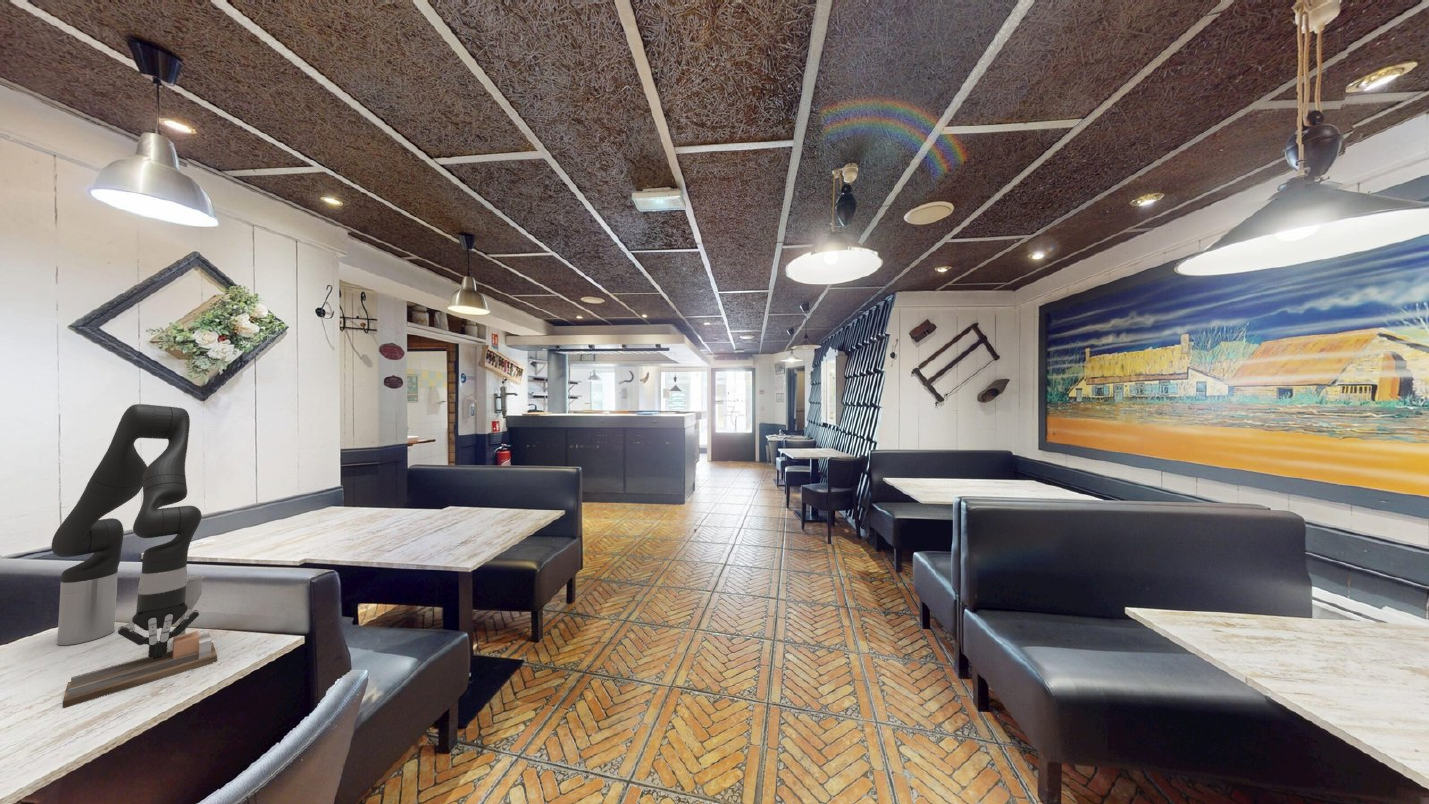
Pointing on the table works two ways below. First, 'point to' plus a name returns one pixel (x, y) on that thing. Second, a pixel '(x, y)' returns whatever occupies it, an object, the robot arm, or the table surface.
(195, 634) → the orange-brown block
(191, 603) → the chalice
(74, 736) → the table surface
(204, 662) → the rail board
